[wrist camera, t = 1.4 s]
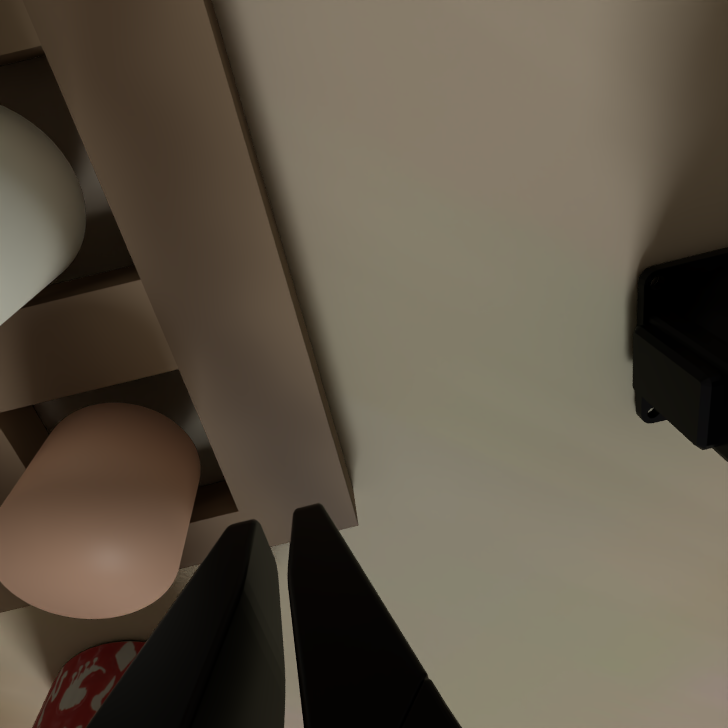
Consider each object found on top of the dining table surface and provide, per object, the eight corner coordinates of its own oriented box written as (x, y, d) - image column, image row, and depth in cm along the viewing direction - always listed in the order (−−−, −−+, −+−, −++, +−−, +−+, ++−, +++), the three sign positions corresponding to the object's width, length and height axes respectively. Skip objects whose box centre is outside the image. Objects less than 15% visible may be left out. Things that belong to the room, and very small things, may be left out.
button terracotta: (168, 386, 18) (137, 463, 14) (220, 504, 20) (205, 595, 17) (15, 423, 18) (-54, 509, 14) (84, 537, 20) (40, 635, 17)
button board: (10, -694, 10) (-50, -857, 8) (353, 491, 23) (358, 525, 21) (-749, -507, 10) (-969, -630, 8) (20, 571, 23) (-2, 612, 21)
